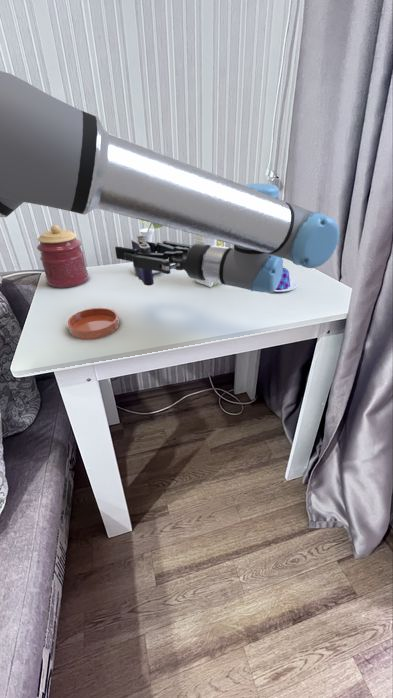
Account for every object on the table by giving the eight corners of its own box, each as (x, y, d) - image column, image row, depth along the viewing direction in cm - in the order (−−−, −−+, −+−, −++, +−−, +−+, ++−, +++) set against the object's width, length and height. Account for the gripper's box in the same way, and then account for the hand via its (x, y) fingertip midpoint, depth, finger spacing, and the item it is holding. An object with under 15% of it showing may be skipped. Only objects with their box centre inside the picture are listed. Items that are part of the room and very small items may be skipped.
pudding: (304, 288, 98) (307, 271, 96) (274, 296, 94) (276, 279, 91) (278, 275, 107) (280, 260, 104) (249, 283, 102) (250, 267, 100)
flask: (133, 274, 83) (129, 231, 78) (144, 272, 85) (140, 230, 79) (145, 286, 77) (141, 240, 71) (156, 284, 78) (153, 239, 72)
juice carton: (208, 275, 109) (208, 215, 98) (227, 282, 103) (229, 219, 93) (191, 281, 104) (190, 219, 94) (211, 289, 99) (211, 224, 88)
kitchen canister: (54, 274, 111) (39, 220, 102) (92, 272, 112) (81, 219, 102) (41, 289, 101) (24, 231, 91) (83, 287, 101) (70, 229, 91)
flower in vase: (127, 271, 113) (116, 193, 98) (152, 263, 119) (145, 188, 105) (152, 280, 105) (144, 197, 91) (177, 271, 112) (173, 192, 98)
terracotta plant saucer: (95, 344, 74) (93, 336, 73) (59, 331, 79) (57, 323, 78) (128, 321, 83) (127, 314, 82) (94, 311, 88) (93, 304, 87)
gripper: (187, 295, 65) (101, 276, 75) (226, 266, 78) (149, 253, 88) (185, 259, 61) (95, 243, 70) (227, 235, 74) (146, 224, 84)
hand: (125, 248), depth 79 cm, fingers closed on flask, 6 cm apart
